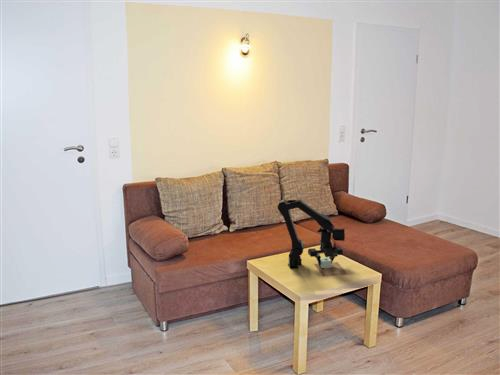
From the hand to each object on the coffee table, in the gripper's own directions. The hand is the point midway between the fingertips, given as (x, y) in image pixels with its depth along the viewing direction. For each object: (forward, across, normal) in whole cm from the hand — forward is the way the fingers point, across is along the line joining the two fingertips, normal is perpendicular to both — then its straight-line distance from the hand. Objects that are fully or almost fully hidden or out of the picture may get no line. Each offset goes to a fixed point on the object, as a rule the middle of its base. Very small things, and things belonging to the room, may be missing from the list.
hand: (324, 266), depth 251 cm
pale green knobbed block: (0, 0, 0) cm, 0 cm away
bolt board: (+1, +2, -4) cm, 5 cm away
